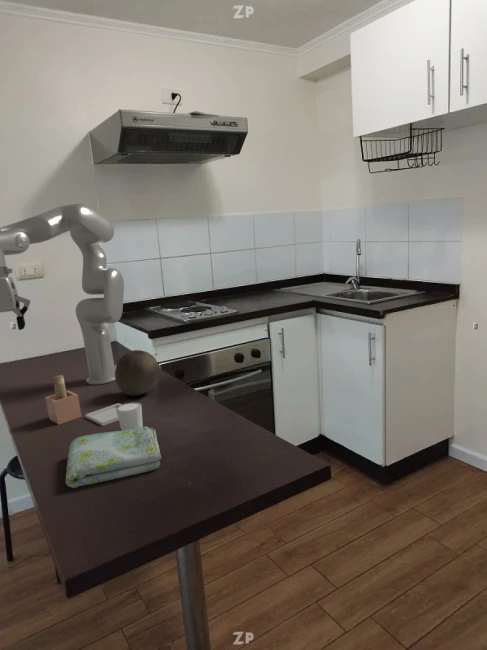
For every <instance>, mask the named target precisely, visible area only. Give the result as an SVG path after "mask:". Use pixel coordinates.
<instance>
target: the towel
mask: <svg viewBox="0 0 487 650" xmlns="http://www.w3.org/2000/svg"><path fill="white" fill-rule="evenodd" d="M156 431H157V430H156V428H155V429H153V427H151V428H150V427H148V426H143V427H140V428H136V429H129V430H123V431H121V430H116V431H107V432H98V433H93V434H86V435H82V436H79V437H76V438H74V439H73V440H72V441H71V442H70V444H69V447H68V450H69V451H68V457H67V462H66V463H67V465H66V473H65V484H66V486H67V487H69V488H72V489H76V488H78V487H82V486H88V485H93V484H99V483H103V482H107V481H112V480H115V479H116V480H117V479H121V478H125V477H129V476H133V475H137V474H138V475H139V474H142V473H143V474H144V473H146V472H151V471H154V470H156V469H160V466H161V462H160V460H162V455H161V450H160V446H159V443H158V439H157V432H156Z"/></svg>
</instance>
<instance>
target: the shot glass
mask: <svg viewBox="0 0 487 650" xmlns="http://www.w3.org/2000/svg"><path fill="white" fill-rule="evenodd" d="M116 412H117V416H118V419H119V420H118V422H119V426H120V431H123V430H129V429H136V428H140V427H144V426H143V407H142V404H141V403H140V402H129V403H124V404H122V405H121V406H119V407H117V408H116Z"/></svg>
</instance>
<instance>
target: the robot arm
mask: <svg viewBox="0 0 487 650" xmlns="http://www.w3.org/2000/svg"><path fill="white" fill-rule="evenodd" d="M114 228H115V227H114V226H113V224H112V222H111V221H110V220H109V219H108V218H106V217H105V216H103V215H102V214H100V213H99V212H97V211H96V210H94V209H93V208H91V207H90V206H88V205H85V204H84V203H73V204H67V205H62V206H57V207H55V208H52V209H50V210H47V211H45V212H42V213H40V214H37V215H34V216H32V217H28V218H25V219H23V220H20V221H17V222H14V223H10V224H7V225H4V226H0V313H8V312H13V313H14V314H15V315H16V318H15V320H16V322H17V328H18V330H19V331H22V330H23V329H25V326H26V321H25V315H26V313H27V311H28V310H29V307H30V305H31V300H30V299H28V298H25V297H22V296H19V293H18V290H17V288H16V287H17V286H16V284H15V282H14V279H13V277H12V276H9V274H13V268H9V267H8V266H7V264H6V259H5V256H12V255H13V256H14V255H19V254H22V253H25V252H26V251H28V249H29V248H30V245H33V244H39V243H43V242H47V241H50V240H51V239H54V238H56V237H58V236H60V235H62V234H64V233H67V232H69V234H70V235H69V236H70V237H71V239H72V241H73V242H74V243H75V244H76V246H77V247H78V248H79V249H78V250H79V251H80V253H81V255H82V275H81V287H82V291H83V292H84V293H85V294H87V295H93V296H94V295H95V296H99V295H101V296H102V295H103V297H89V298H88V297H87V298H84V299H81V300H80V301H78V303H76V306H75V315H76V319H77V320H78V321H77V322H78V323H79V326H80V329H81V330H80V331H81V335H82V338H83V339H82V340H83V345H84V351H85V356H86V362H87V369H88V373H89V377H87V378H86V379H85V381H86V384H88V385H93V386H94V385H103V384H108V383H111V382H114V381H116V378H115V370H116V367H117V364H115V362H114V356H113V349H112V344H111V337H110V331H109V330H108V327H107V326H106V325H105V324H115V323H117V322H119V321H120V319H121V317H122V315H123V310H124V309H123V307H124V293H125V290H124V289H125V283H124V277H123V275H122V273H121V272H120V270H118V269H117V268H113V267H109V268H107V255H106V253H105V250H104V249H103V248H102V246H101V245H100V244H103V243H107V242H110V241H111V240H113V237H114V236H115V235H114V234H115V229H114ZM22 303H23V307H22V308H21V304H22Z"/></svg>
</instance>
